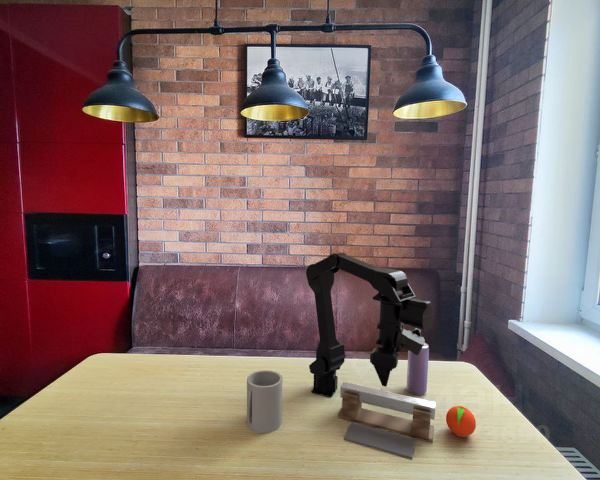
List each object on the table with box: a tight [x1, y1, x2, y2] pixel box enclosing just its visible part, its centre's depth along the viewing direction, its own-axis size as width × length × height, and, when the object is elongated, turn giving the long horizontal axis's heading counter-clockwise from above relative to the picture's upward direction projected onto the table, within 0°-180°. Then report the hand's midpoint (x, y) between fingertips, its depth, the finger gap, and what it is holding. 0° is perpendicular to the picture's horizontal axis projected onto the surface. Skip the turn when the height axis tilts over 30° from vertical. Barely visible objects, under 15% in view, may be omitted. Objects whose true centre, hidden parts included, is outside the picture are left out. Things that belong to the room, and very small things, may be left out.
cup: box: [246, 369, 284, 434], centre depth 93 cm, size 9×9×12 cm
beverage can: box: [406, 342, 430, 396], centre depth 110 cm, size 6×6×15 cm
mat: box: [343, 421, 416, 460], centre depth 87 cm, size 16×7×1 cm, turn 67°
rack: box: [337, 392, 435, 444], centre depth 94 cm, size 24×6×7 cm, turn 67°
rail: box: [339, 381, 437, 421], centre depth 94 cm, size 24×3×3 cm, turn 67°
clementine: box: [445, 405, 477, 438], centre depth 90 cm, size 8×7×7 cm
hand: (387, 377), depth 93 cm, fingers open, 9 cm apart
